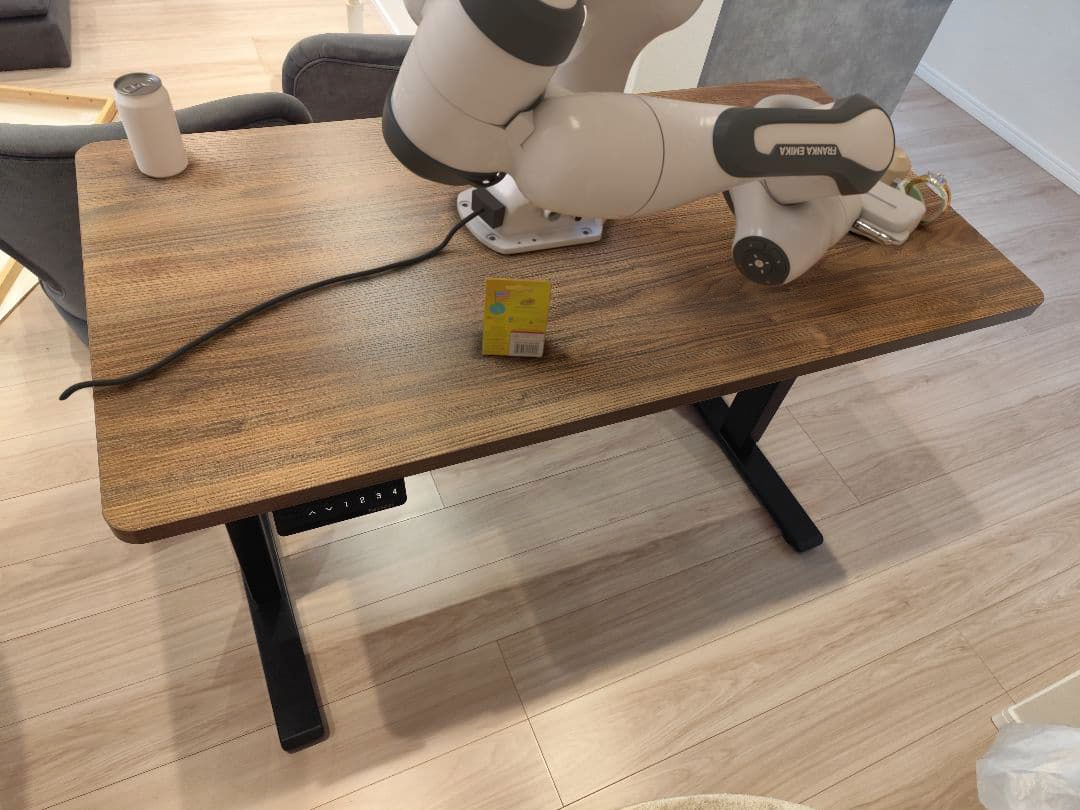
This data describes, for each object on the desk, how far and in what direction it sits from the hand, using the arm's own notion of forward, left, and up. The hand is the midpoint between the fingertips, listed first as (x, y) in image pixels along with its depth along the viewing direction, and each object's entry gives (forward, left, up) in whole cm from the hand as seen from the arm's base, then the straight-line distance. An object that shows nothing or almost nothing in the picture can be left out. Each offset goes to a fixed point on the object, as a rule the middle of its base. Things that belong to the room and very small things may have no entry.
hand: (867, 167), depth 99 cm
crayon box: (-54, +1, -13) cm, 55 cm away
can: (-81, +52, -13) cm, 97 cm away
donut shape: (+11, +21, -13) cm, 27 cm away
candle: (+11, +3, -12) cm, 17 cm away
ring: (+17, -2, -13) cm, 22 cm away
